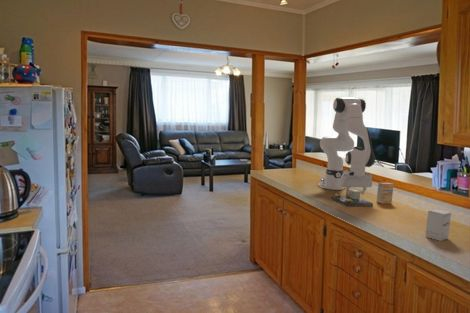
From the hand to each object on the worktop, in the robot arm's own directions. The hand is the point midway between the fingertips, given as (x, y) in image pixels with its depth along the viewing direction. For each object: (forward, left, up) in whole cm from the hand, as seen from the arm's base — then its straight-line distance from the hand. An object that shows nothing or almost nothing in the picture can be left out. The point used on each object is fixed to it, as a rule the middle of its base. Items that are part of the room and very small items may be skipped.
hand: (355, 194), depth 248 cm
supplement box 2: (+71, +2, -6) cm, 71 cm away
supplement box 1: (+3, +19, -6) cm, 20 cm away
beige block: (-6, 0, -3) cm, 7 cm away
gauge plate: (+1, -3, -5) cm, 6 cm away
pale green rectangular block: (0, 0, -3) cm, 3 cm away
